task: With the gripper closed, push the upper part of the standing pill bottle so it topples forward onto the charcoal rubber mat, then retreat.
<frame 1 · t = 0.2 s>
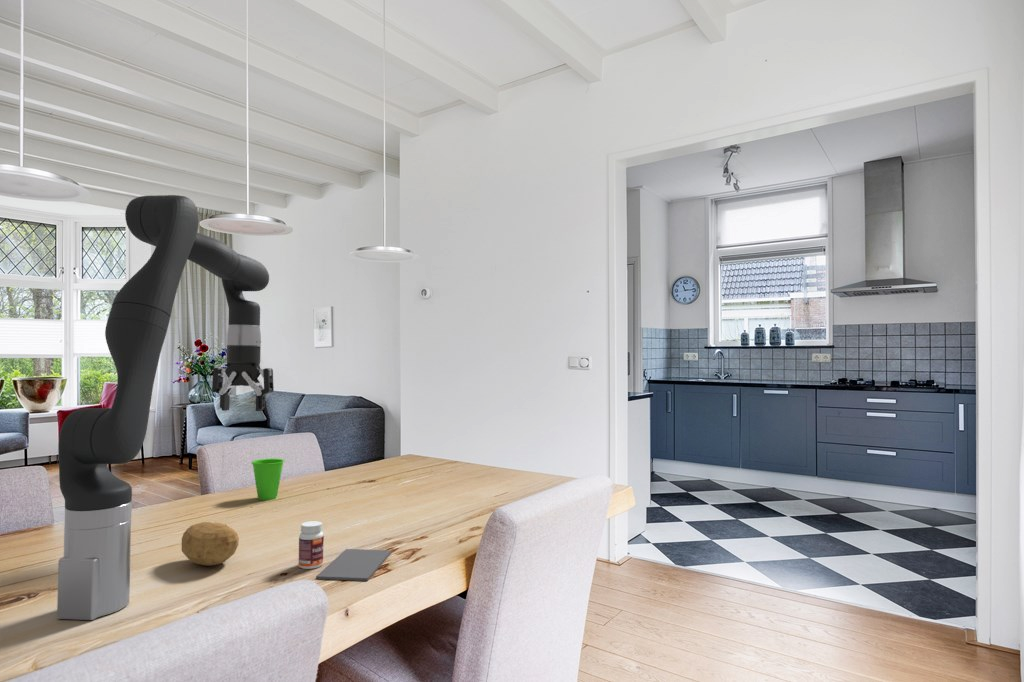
hand: (242, 410, 143), 29 cm above the table, fingers open, 8 cm apart
potato: (208, 564, 120), on the table
pill bottle: (310, 566, 119), on the table
cup: (267, 499, 175), on the table
mat: (356, 565, 120), on the table
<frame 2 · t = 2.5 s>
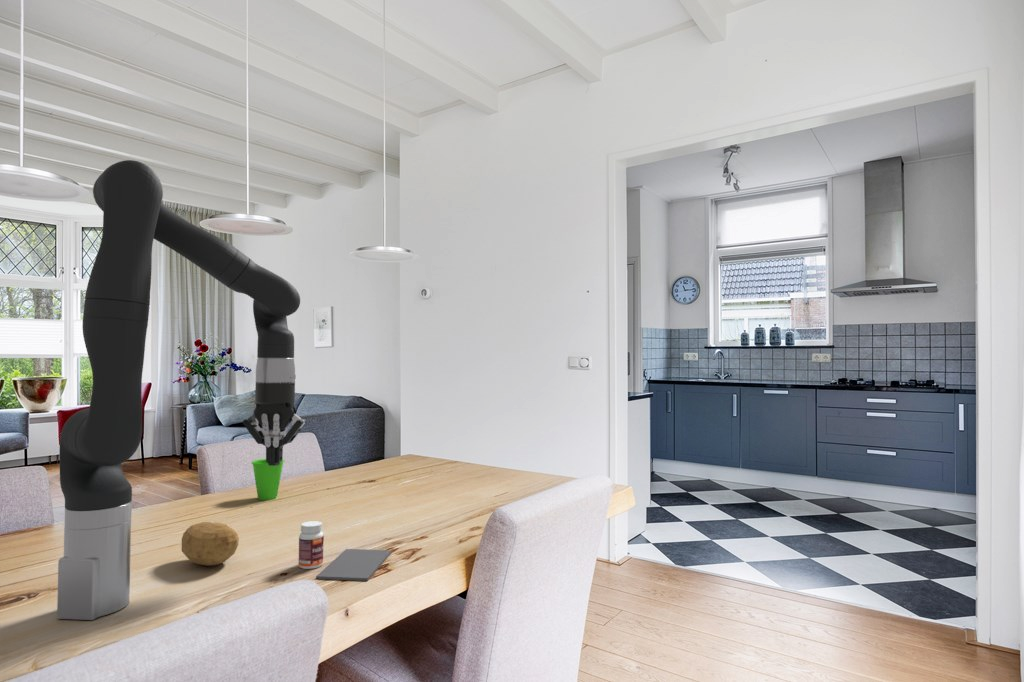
hand: (274, 465, 121), 20 cm above the table, fingers closed
nothing on the table moved.
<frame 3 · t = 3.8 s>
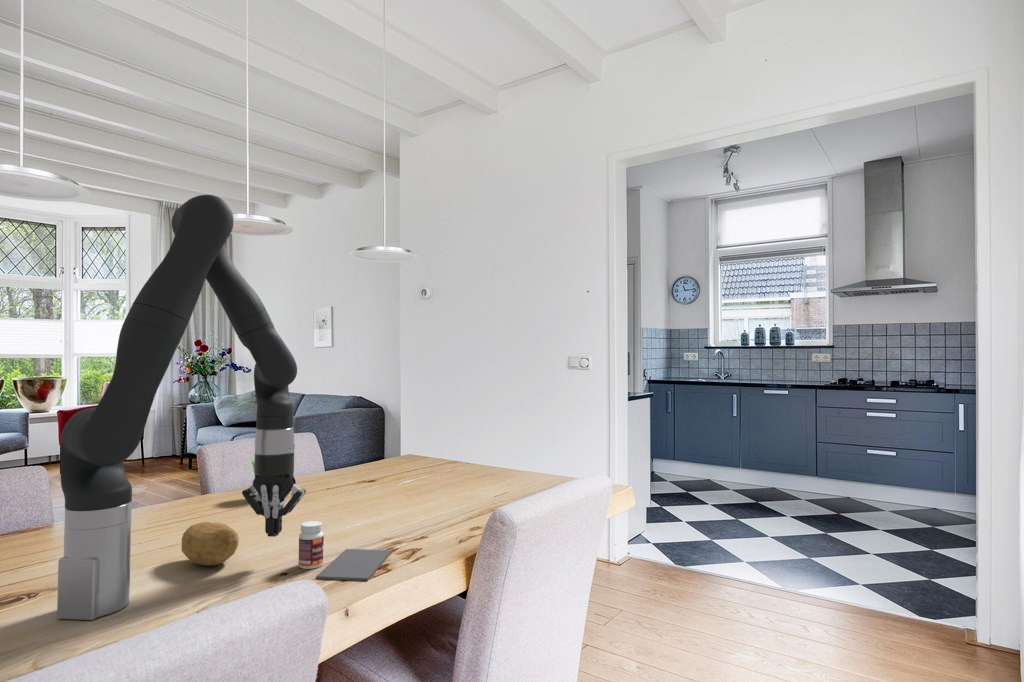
hand: (273, 535, 120), 6 cm above the table, fingers closed
nothing on the table moved.
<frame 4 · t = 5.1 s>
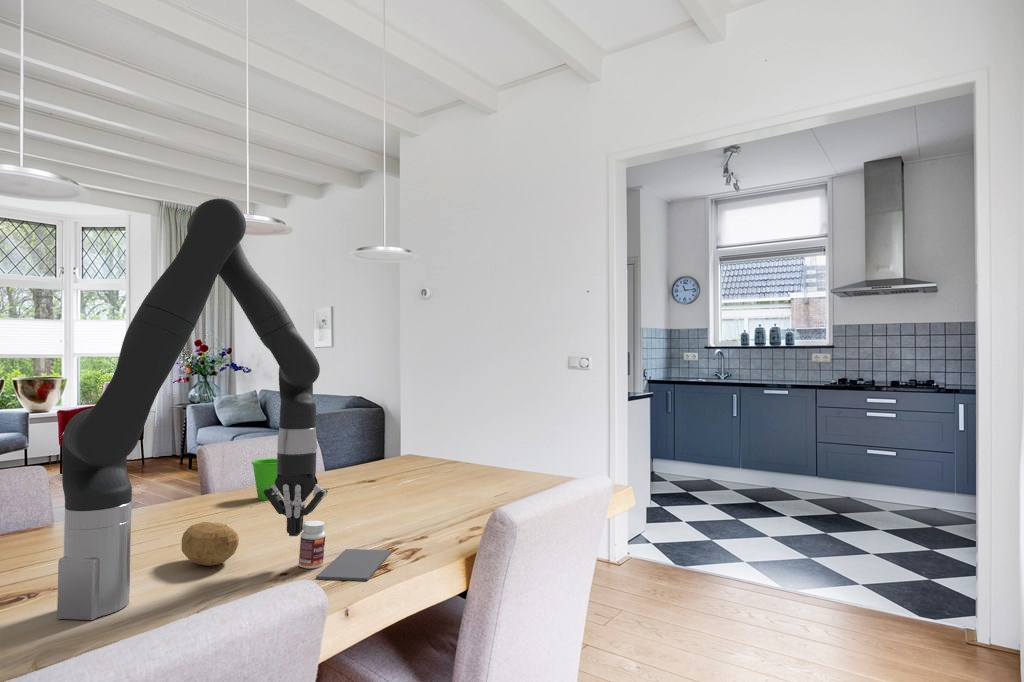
hand: (294, 535, 120), 6 cm above the table, fingers closed
pill bottle: (310, 565, 119), on the table, touching gripper
everything else where it was.
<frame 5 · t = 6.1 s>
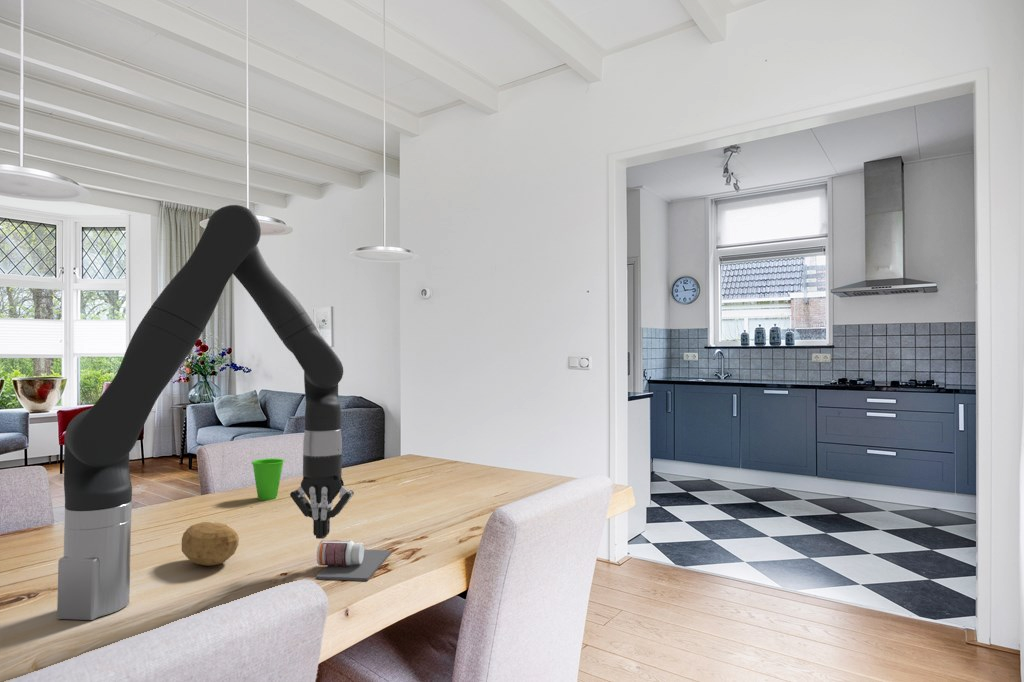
hand: (321, 537, 120), 6 cm above the table, fingers closed
pill bottle: (319, 552, 118), point 3 cm above the table, touching mat
everything else where it was.
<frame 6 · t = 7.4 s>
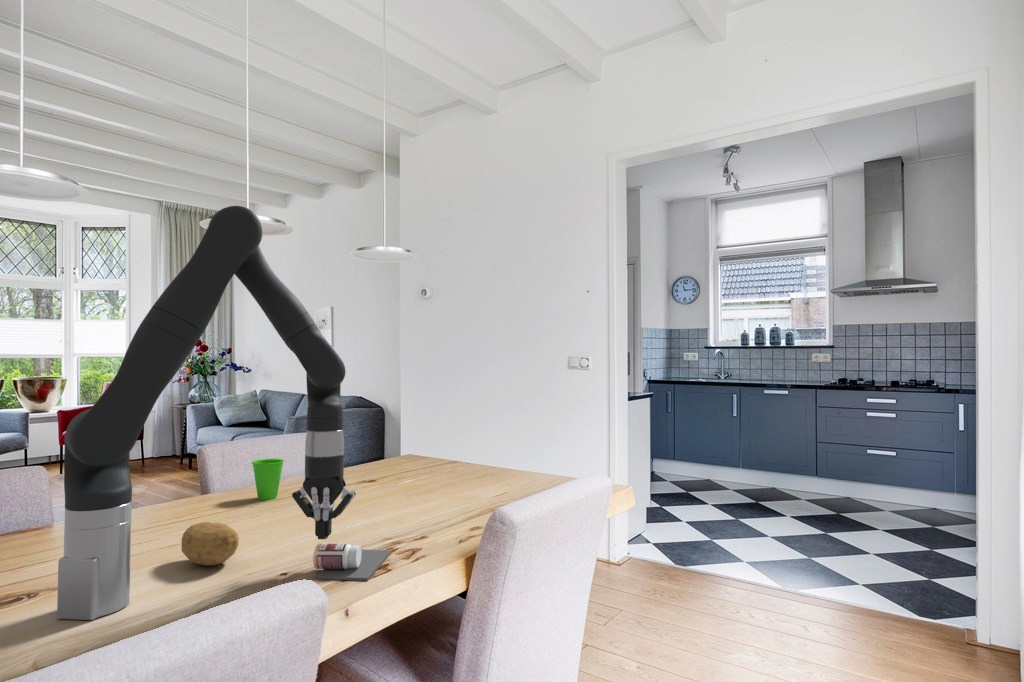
hand: (323, 538, 119), 6 cm above the table, fingers closed
pill bottle: (315, 556, 117), point 3 cm above the table, touching mat
everything else where it was.
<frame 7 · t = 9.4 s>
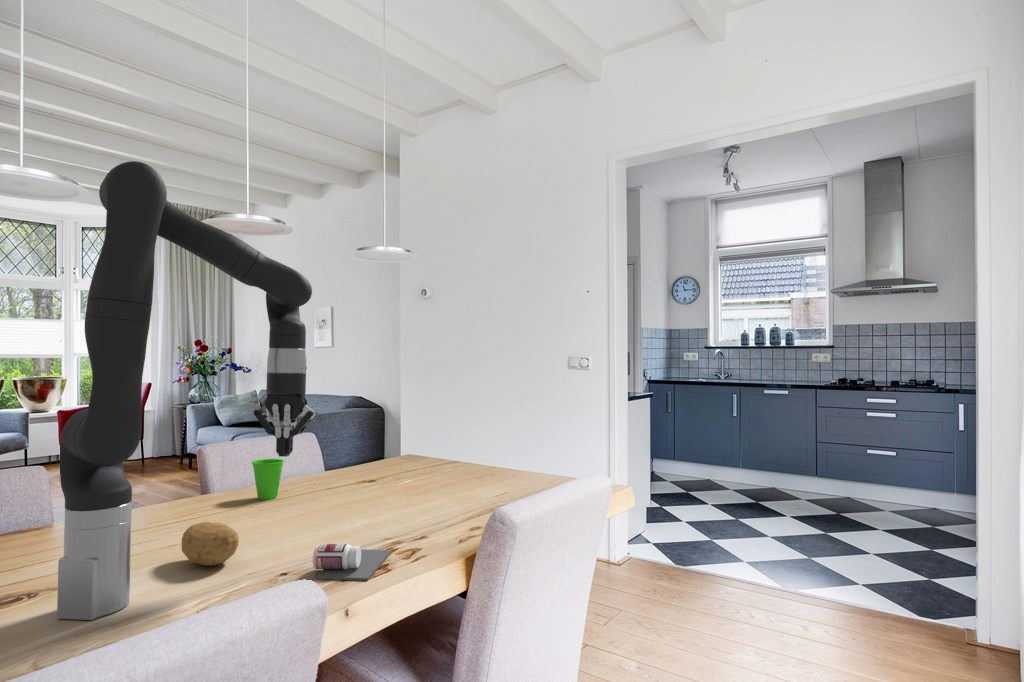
hand: (284, 455, 120), 22 cm above the table, fingers closed
nothing on the table moved.
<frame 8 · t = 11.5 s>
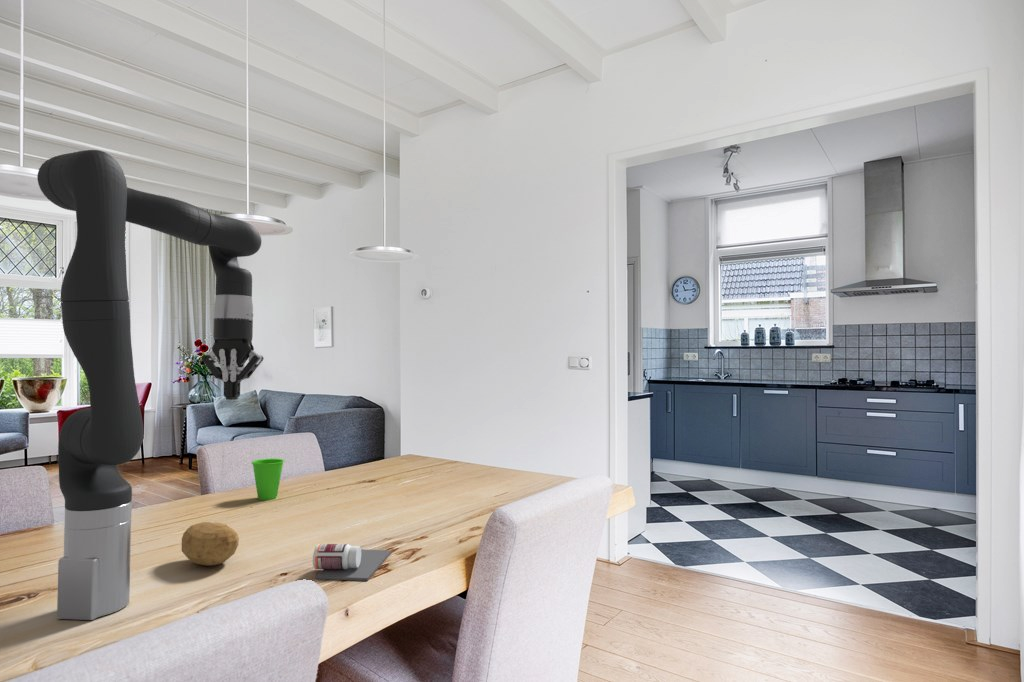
hand: (231, 399, 125), 33 cm above the table, fingers closed
nothing on the table moved.
at the end: pill bottle tilted 90°; pill bottle inside the target area (6.4 cm from its centre), point 2.9 cm above the table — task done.
